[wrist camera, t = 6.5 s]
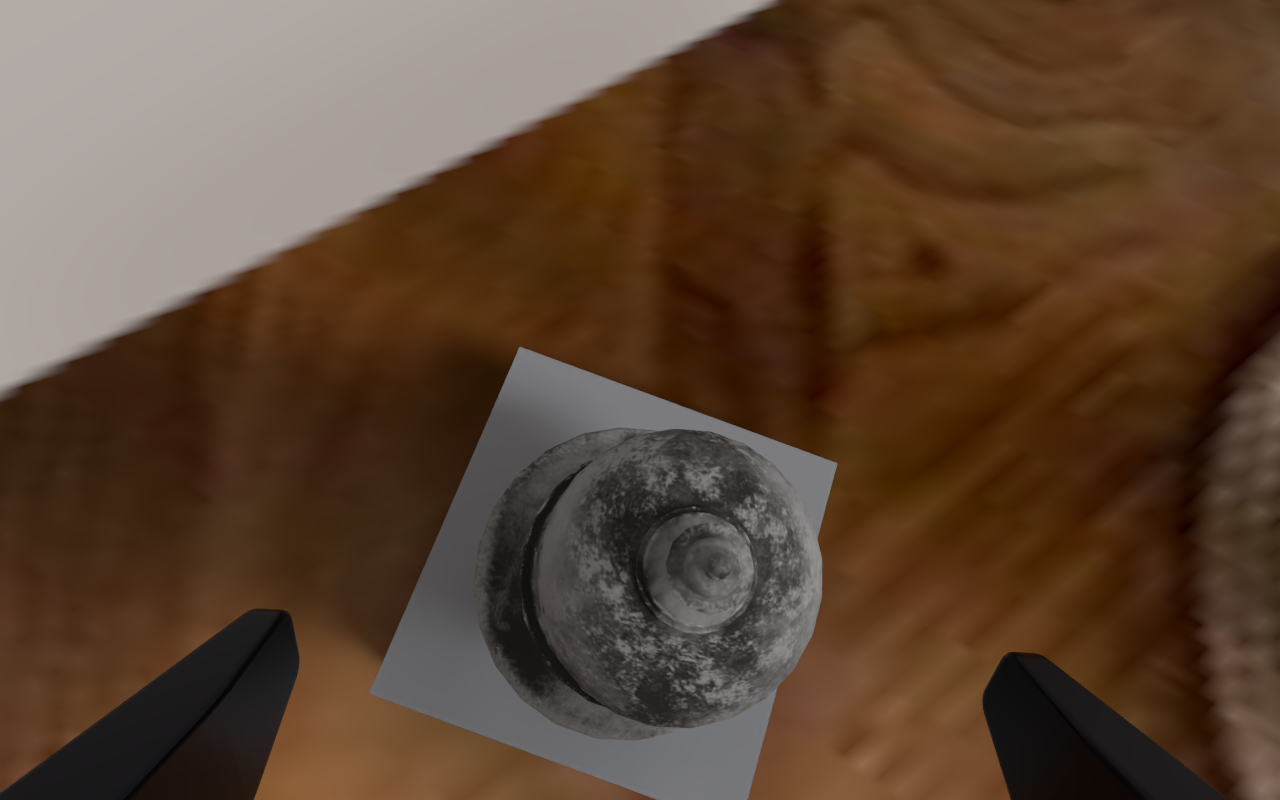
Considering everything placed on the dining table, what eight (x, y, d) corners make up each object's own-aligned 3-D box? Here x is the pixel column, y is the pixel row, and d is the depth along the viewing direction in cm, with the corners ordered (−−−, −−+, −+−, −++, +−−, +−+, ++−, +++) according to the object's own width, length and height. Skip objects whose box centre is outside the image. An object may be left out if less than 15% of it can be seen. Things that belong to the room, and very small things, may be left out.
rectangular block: (712, 789, 18) (739, 830, 15) (402, 675, 18) (369, 693, 15) (800, 479, 20) (837, 463, 18) (527, 379, 20) (519, 346, 18)
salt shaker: (770, 522, 17) (1187, 400, 5) (672, 751, 15) (971, 1274, 4) (566, 418, 17) (551, 88, 6) (448, 634, 16) (87, 790, 4)
